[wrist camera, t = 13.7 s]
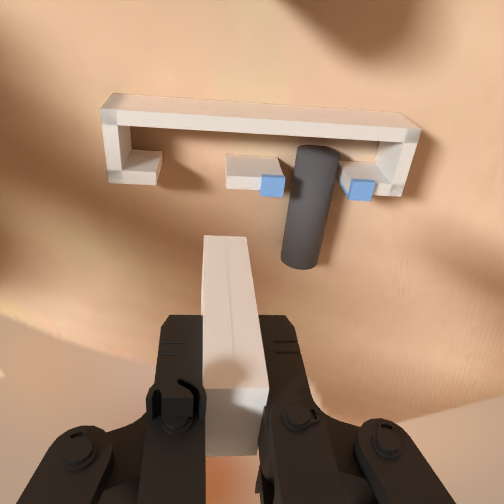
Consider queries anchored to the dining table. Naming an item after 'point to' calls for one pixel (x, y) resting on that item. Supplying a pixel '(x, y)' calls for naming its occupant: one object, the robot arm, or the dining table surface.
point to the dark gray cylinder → (309, 205)
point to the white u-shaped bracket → (260, 122)
